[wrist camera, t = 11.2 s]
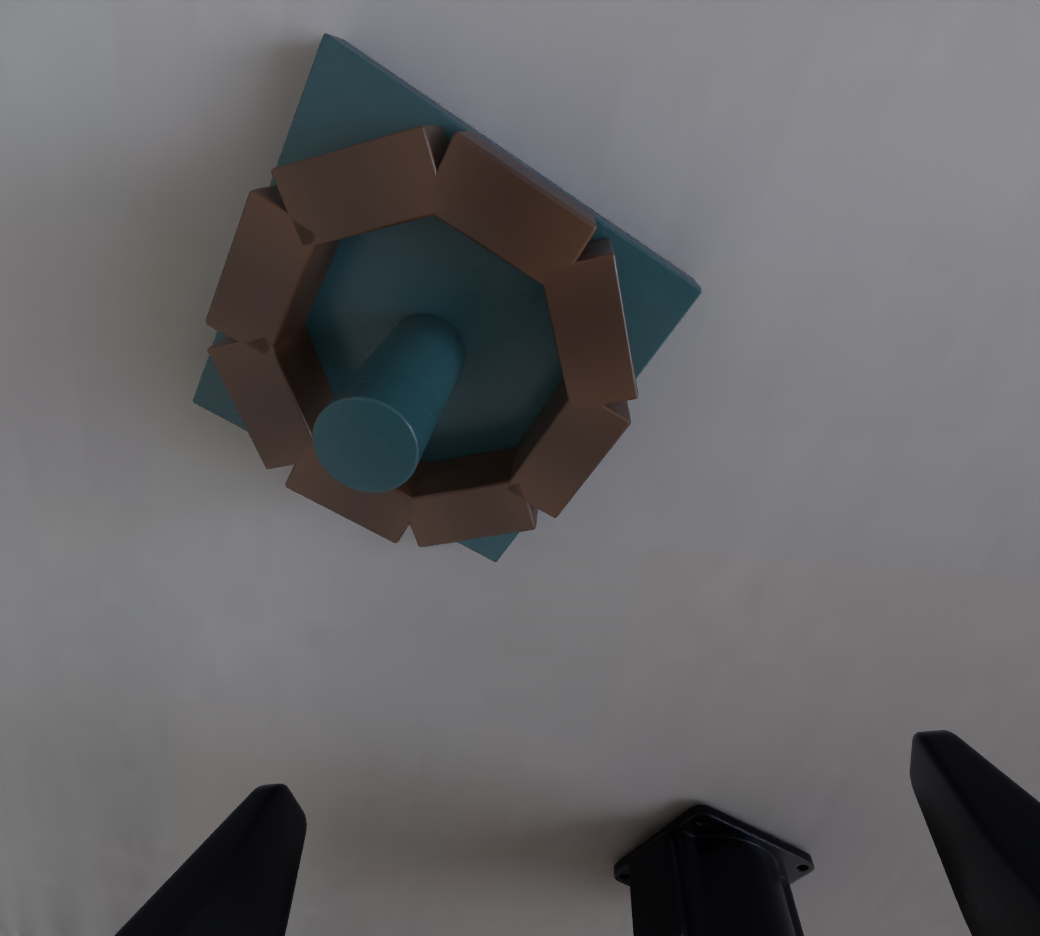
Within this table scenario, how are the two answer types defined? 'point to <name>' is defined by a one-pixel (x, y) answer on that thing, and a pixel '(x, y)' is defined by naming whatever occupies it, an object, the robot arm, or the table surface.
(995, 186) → the table surface
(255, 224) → the ring
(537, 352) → the post stand
